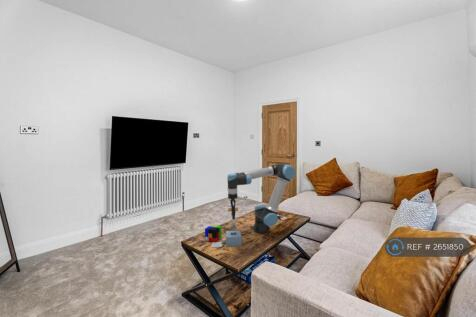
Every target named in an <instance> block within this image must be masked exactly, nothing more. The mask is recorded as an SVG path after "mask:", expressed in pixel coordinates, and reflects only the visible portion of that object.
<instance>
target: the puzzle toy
mask: <svg viewBox="0 0 476 317" xmlns="http://www.w3.org/2000/svg"><path fill="white" fill-rule="evenodd" d="M222 234H223V233H222V225H215V224H210V225H209V226H207V227H205V228H204V241H205V242H211V243H212V242H215V243H216V242H219V240H222V239H223V238H222Z"/></svg>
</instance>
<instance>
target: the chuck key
mask: <svg viewBox="0 0 476 317" xmlns="http://www.w3.org/2000/svg"><path fill="white" fill-rule="evenodd" d="M227 210H228V212H231V214H232V208H231V207H229V208H228V207H227ZM235 212H239V207H235ZM231 214H230V215H231ZM236 224H237V223H236V222H235V223H232V222H231V229H234V230H235V229H236V226H237V225H236Z"/></svg>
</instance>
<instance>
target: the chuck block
mask: <svg viewBox="0 0 476 317" xmlns="http://www.w3.org/2000/svg"><path fill="white" fill-rule="evenodd" d="M242 238H243V237H242V232H241V229H239V230H225V238H221V242H222V243H225V245H226V247H242V246H243V243H242V242H243V240H242Z"/></svg>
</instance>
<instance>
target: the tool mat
mask: <svg viewBox="0 0 476 317" xmlns="http://www.w3.org/2000/svg"><path fill="white" fill-rule="evenodd" d="M211 248H213V249H214V248H216V249H217V248H223V242H222V241H217V242H216V243H215V242H211Z"/></svg>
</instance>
